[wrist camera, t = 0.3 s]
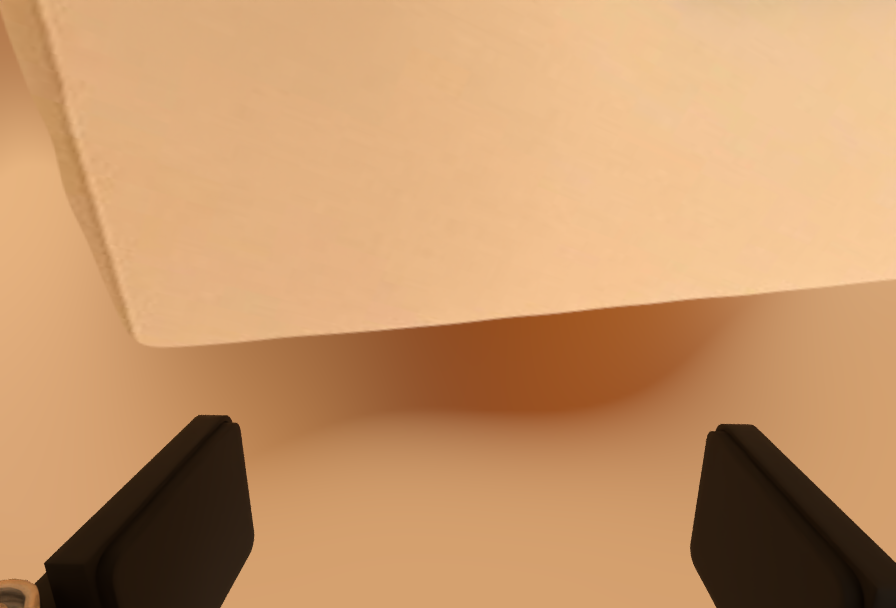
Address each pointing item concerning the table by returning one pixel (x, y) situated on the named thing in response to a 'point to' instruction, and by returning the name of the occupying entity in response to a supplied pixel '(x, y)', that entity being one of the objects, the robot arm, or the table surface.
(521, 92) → the table surface
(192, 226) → the table surface
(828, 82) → the table surface
